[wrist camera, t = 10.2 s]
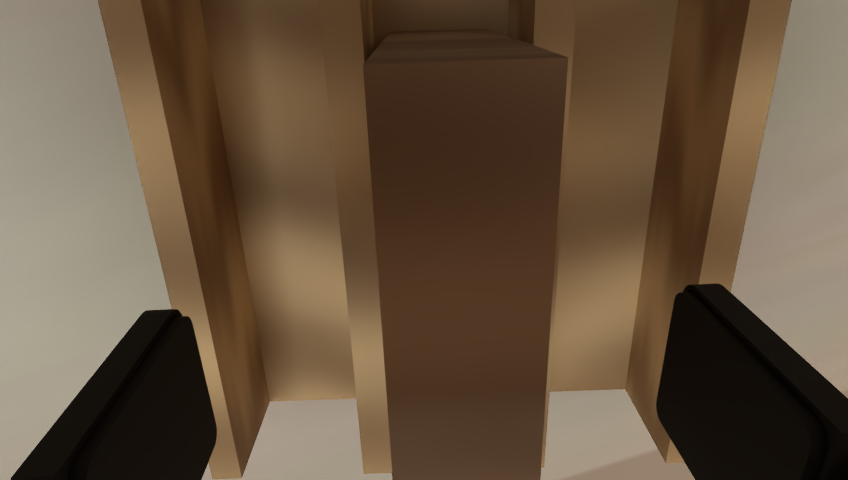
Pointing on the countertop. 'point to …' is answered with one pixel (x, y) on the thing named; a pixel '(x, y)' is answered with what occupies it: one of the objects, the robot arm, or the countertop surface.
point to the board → (465, 246)
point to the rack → (352, 191)
